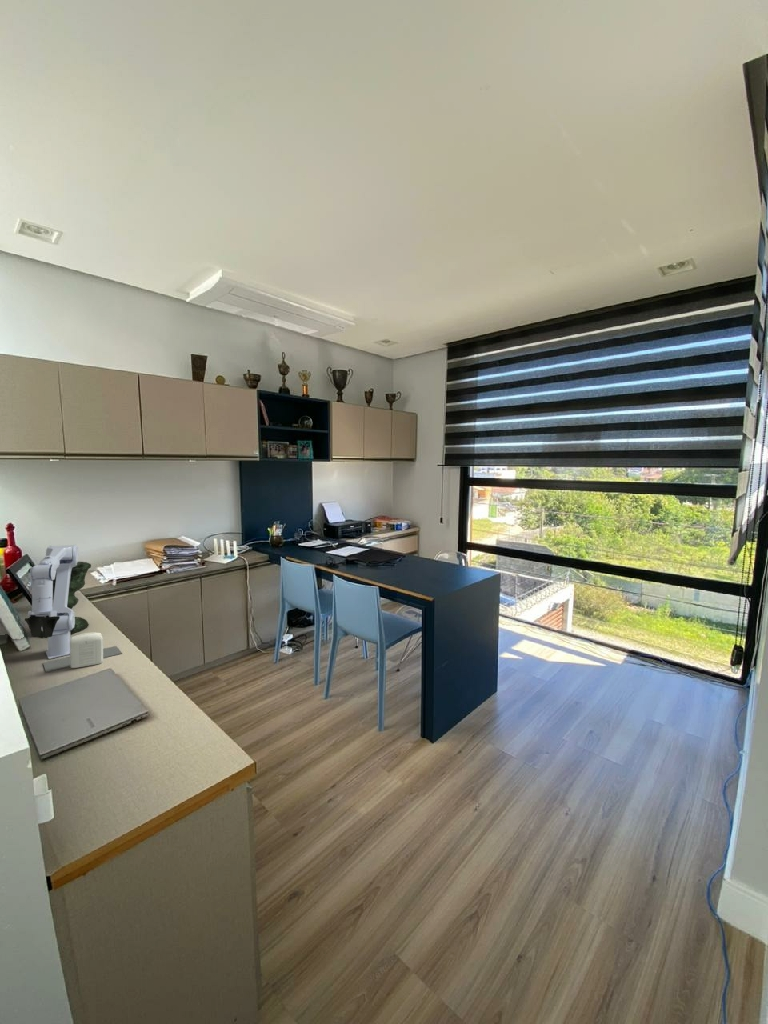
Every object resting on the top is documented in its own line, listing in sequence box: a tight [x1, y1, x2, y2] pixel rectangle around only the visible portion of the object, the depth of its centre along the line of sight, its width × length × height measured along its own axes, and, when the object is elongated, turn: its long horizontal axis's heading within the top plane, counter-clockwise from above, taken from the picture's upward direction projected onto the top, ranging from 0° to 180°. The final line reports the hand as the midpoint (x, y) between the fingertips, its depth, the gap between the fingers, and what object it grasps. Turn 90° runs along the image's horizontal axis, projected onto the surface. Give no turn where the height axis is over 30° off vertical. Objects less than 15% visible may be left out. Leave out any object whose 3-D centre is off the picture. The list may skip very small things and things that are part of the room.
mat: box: [42, 645, 123, 673], centre depth 164 cm, size 10×24×1 cm, turn 135°
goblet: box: [27, 561, 92, 638], centre depth 191 cm, size 22×23×30 cm
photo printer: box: [69, 632, 104, 669], centre depth 158 cm, size 10×4×12 cm, turn 123°
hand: (41, 637), depth 149 cm, fingers open, 7 cm apart
